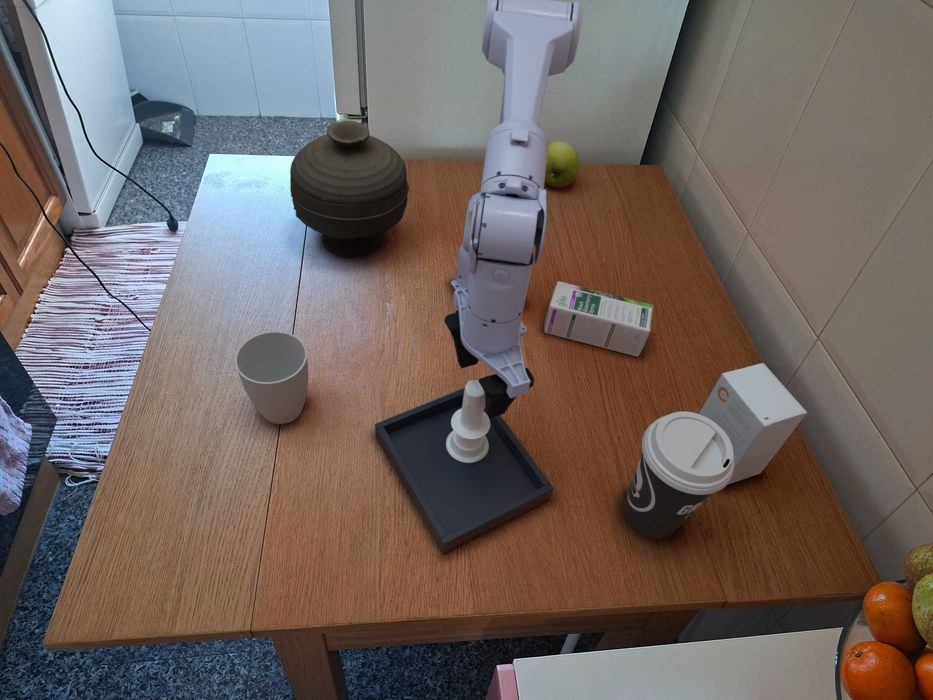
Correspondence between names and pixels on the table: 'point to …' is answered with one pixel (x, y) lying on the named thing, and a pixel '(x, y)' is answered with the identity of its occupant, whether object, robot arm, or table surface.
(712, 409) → the small box
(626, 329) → the syrup box
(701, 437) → the coffee cup
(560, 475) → the table surface
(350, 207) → the pot
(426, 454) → the tray
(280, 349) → the cup
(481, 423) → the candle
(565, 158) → the apple
